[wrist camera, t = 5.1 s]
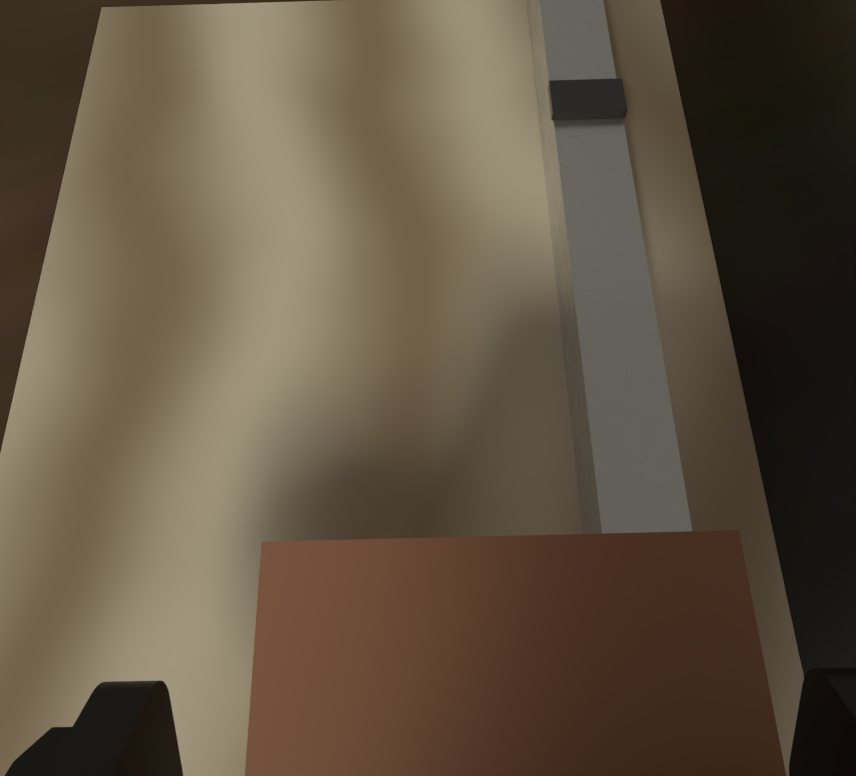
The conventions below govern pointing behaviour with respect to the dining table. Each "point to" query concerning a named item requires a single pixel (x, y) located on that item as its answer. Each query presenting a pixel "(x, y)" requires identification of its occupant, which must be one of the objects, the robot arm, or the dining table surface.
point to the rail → (603, 281)
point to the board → (323, 338)
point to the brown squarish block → (510, 658)
